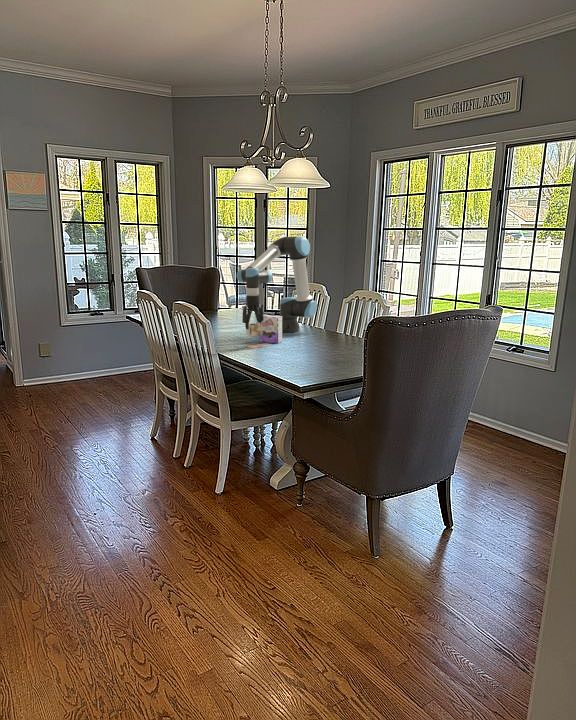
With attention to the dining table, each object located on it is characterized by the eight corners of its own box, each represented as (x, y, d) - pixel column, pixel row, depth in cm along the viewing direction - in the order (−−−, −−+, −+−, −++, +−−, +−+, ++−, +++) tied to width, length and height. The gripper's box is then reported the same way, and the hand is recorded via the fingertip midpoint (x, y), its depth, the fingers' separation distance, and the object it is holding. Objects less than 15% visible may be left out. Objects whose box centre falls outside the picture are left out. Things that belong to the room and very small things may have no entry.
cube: (254, 333, 319) (254, 322, 317) (260, 334, 314) (260, 324, 313) (246, 334, 315) (245, 324, 314) (251, 335, 310) (251, 325, 309)
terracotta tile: (255, 345, 321) (255, 344, 321) (261, 347, 316) (261, 346, 316) (245, 346, 317) (245, 346, 317) (252, 348, 312) (252, 348, 312)
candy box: (258, 342, 331) (258, 315, 327) (263, 340, 336) (263, 314, 332) (278, 344, 325) (277, 317, 321) (282, 342, 330) (282, 316, 326)
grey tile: (266, 343, 326) (266, 342, 326) (272, 345, 321) (272, 344, 321) (256, 345, 322) (256, 344, 322) (263, 347, 316) (263, 346, 316)
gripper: (262, 293, 318) (262, 331, 323) (235, 295, 306) (236, 334, 312) (269, 294, 312) (270, 332, 317) (242, 296, 300) (243, 336, 306)
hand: (253, 333), depth 314 cm, fingers closed on cube, 6 cm apart
